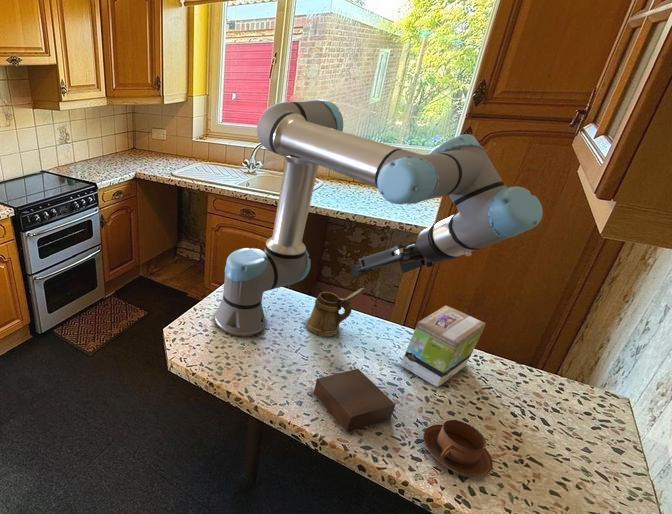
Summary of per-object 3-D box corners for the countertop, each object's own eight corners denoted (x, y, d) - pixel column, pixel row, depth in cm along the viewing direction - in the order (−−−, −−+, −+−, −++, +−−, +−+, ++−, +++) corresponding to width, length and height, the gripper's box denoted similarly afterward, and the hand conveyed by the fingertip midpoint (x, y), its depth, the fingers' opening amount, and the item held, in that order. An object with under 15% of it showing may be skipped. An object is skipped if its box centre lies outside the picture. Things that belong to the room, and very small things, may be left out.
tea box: (438, 389, 100) (459, 342, 93) (399, 365, 108) (415, 321, 101) (467, 366, 107) (487, 322, 100) (428, 346, 115) (444, 303, 108)
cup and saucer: (484, 494, 76) (497, 473, 73) (414, 455, 83) (423, 435, 81) (493, 453, 84) (504, 433, 81) (428, 421, 91) (437, 401, 88)
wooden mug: (345, 348, 114) (360, 295, 106) (301, 327, 122) (311, 277, 114) (357, 334, 120) (372, 282, 111) (314, 315, 128) (325, 266, 120)
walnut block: (313, 393, 99) (317, 378, 96) (353, 383, 102) (358, 368, 99) (346, 432, 88) (351, 416, 86) (390, 420, 92) (396, 404, 89)
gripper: (397, 263, 75) (335, 289, 95) (508, 252, 79) (427, 280, 99) (385, 226, 77) (327, 259, 97) (494, 217, 81) (417, 251, 101)
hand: (377, 270), depth 98 cm, fingers open, 13 cm apart
